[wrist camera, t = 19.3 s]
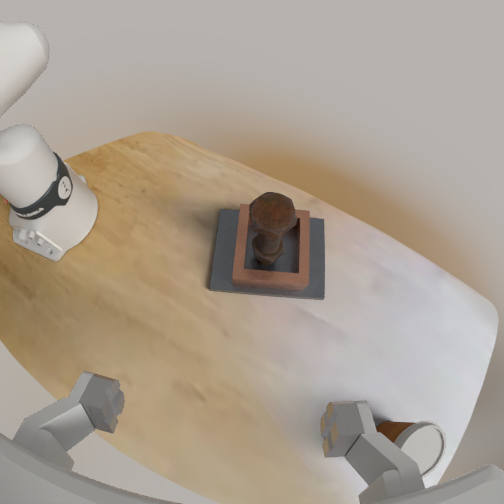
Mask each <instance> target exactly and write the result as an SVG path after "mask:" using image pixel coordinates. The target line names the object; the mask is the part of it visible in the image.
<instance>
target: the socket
mask: <svg viewBox="0 0 504 504" xmlns="http://www.w3.org/2000/svg"><path fill="white" fill-rule="evenodd" d="M295 212H296V217H297V222H296V225H295V226H294V227H292V228H291V229H290V230H289V231H287V232H286V233H285V234H284V235H282V240H283V244H284V250H285V251H284V254H283V255H282V256H281V257H279V258H278V259H277V260H276V261H275V262H274V263H272V264H270V265H261V264H260V263H259V261H257V259H255V256H254V252H253V247H252V239H253V238H254V237H255V236H257V235H258V233H257V232H254V230H253V226H252V221H251V216H250V212H249V205H245V204H240V211H237V210H225V209H220V216H219V223H218V230H217V237H216V244H215V252H214V259H213V267H212V275H211V282H210V291H219V292H229V293H240V294H251V295H262V296H274V297H287V298H301V299H316V300H323V299H324V290H325V243H324V219H317V218H309V211H305V210H296V209H295Z"/></svg>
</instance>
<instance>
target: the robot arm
mask: <svg viewBox="0 0 504 504" xmlns="http://www.w3.org/2000/svg"><path fill="white" fill-rule="evenodd" d="M48 60H49V44H48V40H47V38H46V36H45V34H44V33H43V31H41V29H40V28H38V27H37V26H35V25H33V24H31V23H27V22H13V23H12V22H10V23H9V22H1V21H0V117H1V116H2V115H3V114H4V113H5V112H6V111H7V110H8V109H9V108H10V107H11V106H12V105H13V104H14V103H15V102H16V101H17V100H18V99H19V98H20V97H21V96H23V94H25V93H26V91H27V90H28V89H29V88H30V87H31V85H32V84H33V83H34V82H35V81H36V79H37V78H38V77H39V76H40V75H41V74H42V73H43V71H44V70H45V69H46V67H47V64H48ZM0 195H2V196H3V197H4V201H5V199H6V204H7V203H8V201H9V203H10V206H11V209H10V213H9V224H10V226H11V227H12V228H14V230H13V240H14V242H15V243H16V244H18V245H20V246H22V247H24V248H26V249H28V250H30V251H32V252H34V253H37V254H39V255H41V256H43V257H45V258H47V259H50V260H52V261H55V262H56V261H58V260H59V259H60V258H61V257H62V256H63V255H64V254H65V252H66V251H67V250H69V249H70V248H72V247H74V246H75V245H77V244H78V243H79V242H81V241H82V240H83V239H84V238H85V237H86V235H87V234H88V233H89V231H90V230H91V228H92V226H93V224H94V222H95V219H96V216H97V211H98V203H97V199H96V196H95V194H94V193H93V192H92V191H91V190H90V189H89V188H88V186H87V181H86V179H85V178H84V177H83V176H82V175H79V176H78V175H77V174H76V173H75V172H74V171H73V170H72V168H71V167H70V166H69V165H68V164H67V163H64V161H63V160H62V159H61V158H60V157H59V156H58V155H57V154H56V153H55V152H52V150H51V149H50V148H49V146H48V145H47V143H46V142H45V140H44V139H43V137H42V136H41V134H40V133H39V132H38V130H37V129H36V128H34V127H32V126H30V125H24V124H23V125H15V126H12V127H9V128H7V129H5V130H3V131H0ZM4 201H3V202H4ZM51 252H52V254H51ZM119 388H120V383H119V380H116V379H112V378H109V377H105V376H102V375H98V374H95V373H91V372H88V371H84V372H83V373H82V374H81V375H80V377H79V379H78V380H77V382H76V384H75V386H74V387H73V389H72V391H71V393H70V394H69V396H68V398H65V397H64V398H62V399H61V400H59V401H57V402H55V403H53V404H51V405H50V406H48V407H46V408H44V409H42V410H40V411H38V412H37V413H35V414H33V415H31V416H29V417H27V418H25V419H24V421H23V423H22V424H21V426H20V428H19V429H18V431H17V433H16V435H15V437H14V438H13V440H10V439H9V438H7V437H6V436H4V435H2V434H1V433H0V504H181V503H175V502H170V501H165V500H161V499H156V498H152V497H148V496H144V495H140V494H137V493H133V492H129V491H126V490H123V489H119V488H116V487H113V486H110V485H107V484H104V483H101V482H99V481H96V480H93V479H90V478H88V477H85V476H82V475H80V474H78V473H75V472H73V471H71V470H72V467H73V464H74V461H73V459H72V458H71V457H70V456H69V455H68V453H67V451H68V450H69V449H71V448H72V447H73V446H75V445H76V444H77V443H79V442H80V441H81V440H83V439H84V438H85V437H86V436H88V435H89V434H90V433H92V432H93V431H94V430H95V429H99V430H102V431H105V432H109V433H114V431H115V428H116V426H117V423H118V419H117V417H116V416H118V415H119V414H121V413H122V410H123V408H124V401H125V400H124V394H123V392H122V391H121V390H120V389H119ZM321 435H322V436H323V437H324V438H325V441H324V442H323V449H324V456H325V457H341V456H345V458H346V459H347V461H348V462H349V463H350V464H351V465H352V467H353V468H354V469H355V470H356V471H357V472H358V474H359V475H360V476H361V477H362V478H363V479H364V480H365V482H366V483H367V484H368V485H369V486H368V487H367V488H366V489H365V490H364V491H363V492H362V493H361V494H360V495H359V501H360V504H504V471H503V470H501V469H500V468H498V467H496V466H494V465H492V464H488V465H484V466H482V467H480V468H478V469H475V470H473V471H471V472H469V473H466V474H464V475H462V476H459V477H457V478H454V479H451V480H449V481H446V482H443V483H441V484H438V485H435V486H432V487H429V488H426V489H425V487H424V484H423V480H422V477H421V474H420V470H419V467H418V464H417V463H416V462H415V461H414V460H413V459H411V458H410V457H409V456H408V455H407V454H405V453H404V452H403V451H402V450H401V449H399V448H398V447H397V446H396V445H395V444H394V443H392V442H391V441H390V440H389V439H388V438H387V437H385V436H384V435H383V434H382V433H381V432H377V430H376V427H375V424H374V420H373V417H372V414H371V410H370V407H369V404H368V402H367V401H366V400H363V401H343V402H330V403H329V404H328V405H327V412H326V413H324V414H323V417H322V419H321Z"/></svg>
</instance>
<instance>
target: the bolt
mask: <svg viewBox="0 0 504 504" xmlns="http://www.w3.org/2000/svg"><path fill="white" fill-rule="evenodd" d="M249 212H250V216H251V221H252V226H253V230H254V232H257V233H258V235H257V236H255V237H254V238H253V239H252V247H253V252H254V256H255V259H257V261H259V263H260V264H261V265H270V264H272V263H274V262H275V261H276V260H277V259H278V258H279V257H281V256H282V255H283V254H284V251H285V250H284V244H283V240H282V235H284V234H285V233H286V232H287V231H289V230H290V229H291V228H292V227H294V226H295V225H296V222H297V217H296V212H295V208H294V205H293V202H292V200H291V199H290V198H288V197H286V196H284V195H282V194H279V193H274V192H267V193H264V194H262V195H261V196H259V197H258V198H256V199H255V200H254V201H253V202H252V203H251V204H250V205H249Z"/></svg>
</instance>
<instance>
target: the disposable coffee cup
mask: <svg viewBox="0 0 504 504" xmlns="http://www.w3.org/2000/svg"><path fill="white" fill-rule="evenodd" d="M376 430H377V432H381V433H382V434H383V435H384V436H385V437H387V438H388V439H389V440H390V441H391V442H392V443H394V444H395V445H396V446H397V447H398V448H399V449H401V450H402V451H403V452H404V453H405V454H407V455H408V456H409V457H410V458H411V459H413V460H414V461H415V462H416V463H417V464H418V467H419V470H420V474H421V477H422V478H423V477H425V476H427V475H428V474H429V473H431V472H432V471H433V470H434V469H435V468H436V467H437V465H438V464H439V463H440V461H441V459H442V457H443V455H444V452H445V448H446V436H445V433H444V432H443V430H442V429H441V428H440V426H439V425H438V424H437V423H435V422H433V421H421V422H418V423H408V422H390V421H389V422H384V423H382V424H380V425H379V426H377V427H376Z"/></svg>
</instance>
